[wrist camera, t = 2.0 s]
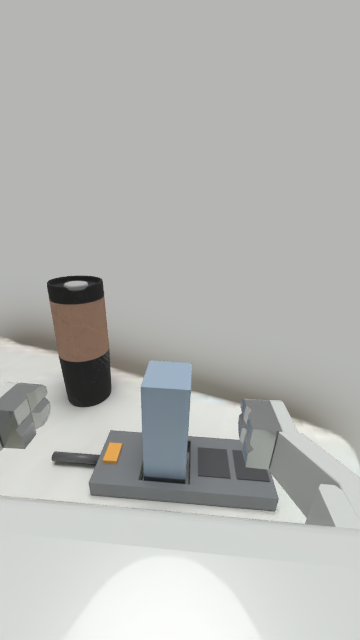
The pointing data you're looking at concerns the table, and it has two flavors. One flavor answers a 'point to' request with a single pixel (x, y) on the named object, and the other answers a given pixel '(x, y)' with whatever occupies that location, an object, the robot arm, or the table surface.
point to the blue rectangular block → (165, 420)
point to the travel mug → (81, 337)
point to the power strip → (204, 483)
